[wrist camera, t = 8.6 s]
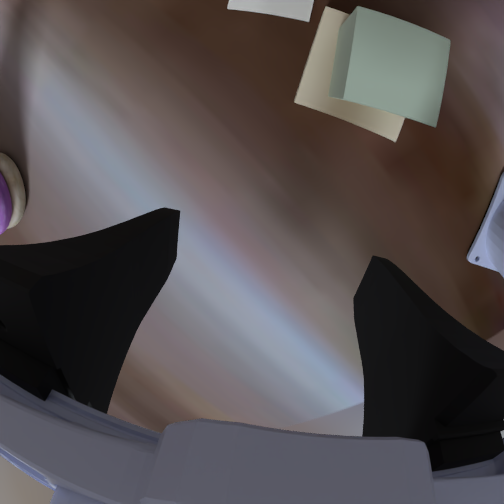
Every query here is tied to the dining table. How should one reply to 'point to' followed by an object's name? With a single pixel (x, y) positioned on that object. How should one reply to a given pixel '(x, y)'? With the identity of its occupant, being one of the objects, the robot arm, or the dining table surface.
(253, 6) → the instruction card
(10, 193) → the stacking toy
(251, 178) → the dining table surface
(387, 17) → the sage block
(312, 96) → the maple base
